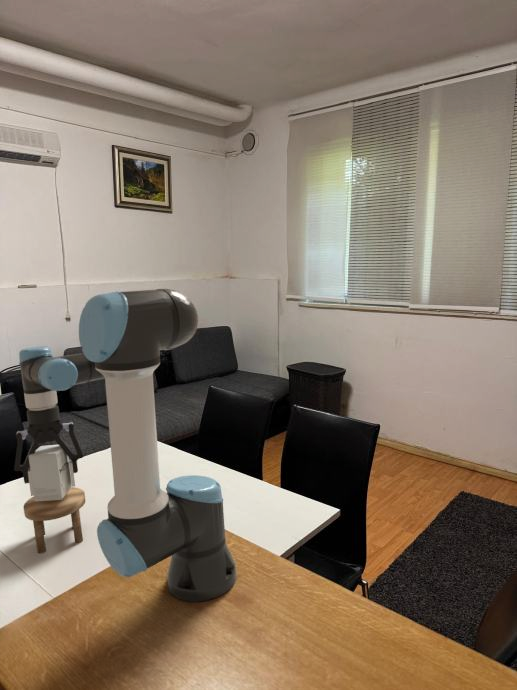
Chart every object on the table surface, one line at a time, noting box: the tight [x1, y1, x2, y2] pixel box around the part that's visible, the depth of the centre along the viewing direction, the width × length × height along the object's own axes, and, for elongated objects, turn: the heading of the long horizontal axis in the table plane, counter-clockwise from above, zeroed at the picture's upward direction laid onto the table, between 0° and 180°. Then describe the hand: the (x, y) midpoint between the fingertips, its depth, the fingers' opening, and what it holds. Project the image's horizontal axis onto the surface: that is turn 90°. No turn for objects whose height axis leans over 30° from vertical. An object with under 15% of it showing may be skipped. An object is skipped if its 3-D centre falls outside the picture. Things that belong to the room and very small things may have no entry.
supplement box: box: [29, 444, 72, 501], centre depth 125 cm, size 7×7×13 cm
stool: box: [23, 486, 86, 555], centre depth 127 cm, size 15×15×11 cm
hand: (53, 489), depth 126 cm, fingers closed on supplement box, 9 cm apart
